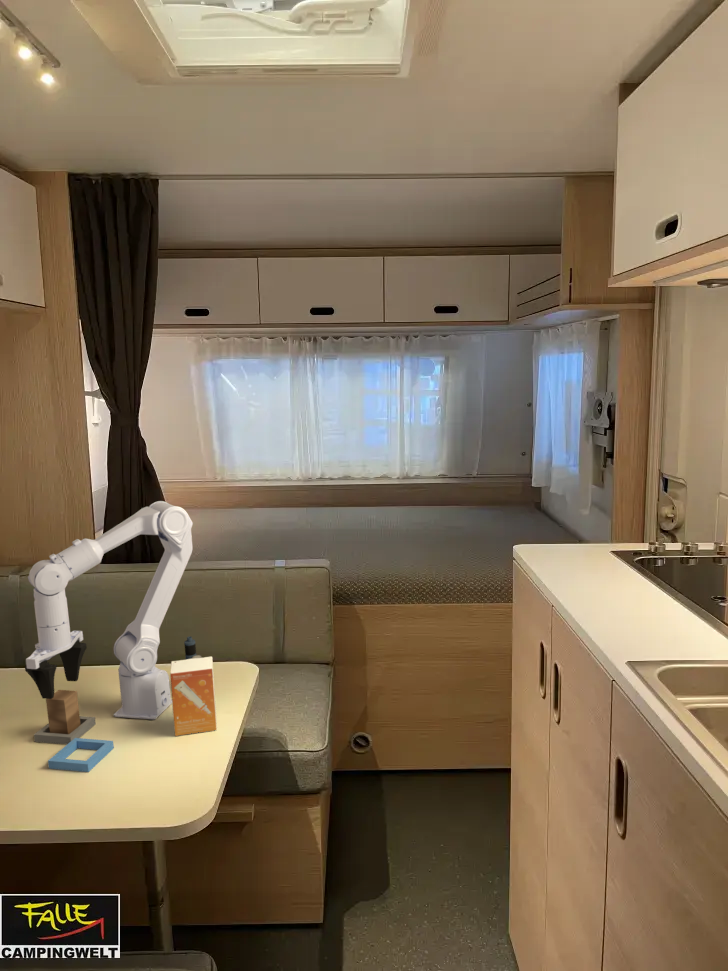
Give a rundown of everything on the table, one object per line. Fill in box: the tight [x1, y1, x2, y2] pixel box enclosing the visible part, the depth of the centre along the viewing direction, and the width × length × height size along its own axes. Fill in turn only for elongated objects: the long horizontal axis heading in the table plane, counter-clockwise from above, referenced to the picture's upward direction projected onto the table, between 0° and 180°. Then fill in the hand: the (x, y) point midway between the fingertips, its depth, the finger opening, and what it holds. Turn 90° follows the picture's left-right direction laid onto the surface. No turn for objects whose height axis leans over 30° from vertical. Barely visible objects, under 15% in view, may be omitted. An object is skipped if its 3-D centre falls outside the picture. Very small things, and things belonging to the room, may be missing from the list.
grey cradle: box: [33, 715, 96, 745], centre depth 137 cm, size 8×8×2 cm
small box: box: [169, 656, 218, 737], centre depth 137 cm, size 8×6×13 cm
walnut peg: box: [45, 689, 81, 734], centre depth 137 cm, size 4×4×8 cm
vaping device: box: [184, 636, 203, 660], centre depth 153 cm, size 3×5×12 cm, turn 45°
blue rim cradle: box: [47, 737, 115, 773], centre depth 128 cm, size 8×8×2 cm
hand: (60, 689), depth 136 cm, fingers open, 7 cm apart
